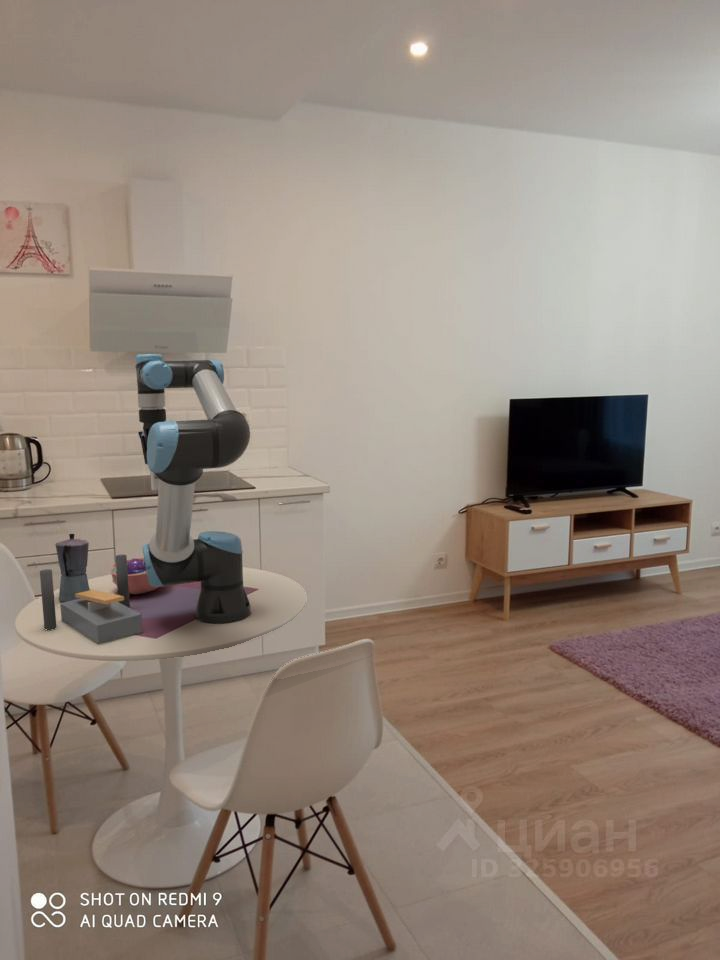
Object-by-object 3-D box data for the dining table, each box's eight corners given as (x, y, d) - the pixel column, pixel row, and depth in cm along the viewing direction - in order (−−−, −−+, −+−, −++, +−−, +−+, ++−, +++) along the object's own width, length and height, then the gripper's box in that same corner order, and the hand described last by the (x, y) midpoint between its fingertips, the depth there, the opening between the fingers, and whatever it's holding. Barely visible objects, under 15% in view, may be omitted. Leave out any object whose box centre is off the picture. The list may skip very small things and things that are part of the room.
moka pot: (96, 590, 233) (91, 528, 230) (87, 607, 218) (82, 540, 215) (64, 592, 231) (59, 529, 228) (52, 609, 216) (47, 542, 213)
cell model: (179, 582, 241) (177, 548, 239) (153, 602, 221) (151, 565, 219) (129, 580, 243) (126, 546, 241) (99, 600, 224) (96, 564, 222)
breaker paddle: (124, 600, 195) (123, 596, 195) (105, 604, 192) (105, 600, 192) (93, 593, 210) (92, 589, 210) (75, 597, 207) (75, 593, 207)
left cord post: (58, 628, 201) (53, 570, 198) (47, 631, 199) (42, 573, 196) (54, 625, 203) (49, 568, 201) (42, 628, 201) (38, 570, 199)
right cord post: (131, 610, 215) (128, 555, 212) (121, 612, 213) (118, 558, 210) (127, 607, 217) (123, 554, 215) (117, 609, 215) (113, 555, 213)
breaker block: (142, 632, 198) (140, 605, 196) (98, 644, 190) (96, 616, 188) (103, 610, 215) (101, 585, 214) (61, 620, 207) (59, 595, 206)
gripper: (176, 408, 214) (180, 489, 217) (151, 406, 223) (156, 485, 226) (152, 409, 208) (157, 493, 212) (128, 408, 217) (133, 488, 221)
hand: (156, 489), depth 219 cm, fingers closed
